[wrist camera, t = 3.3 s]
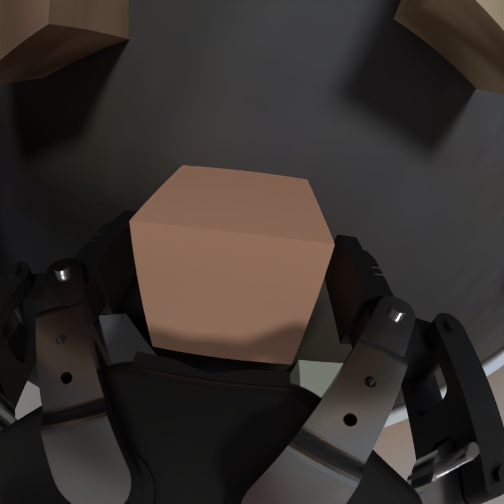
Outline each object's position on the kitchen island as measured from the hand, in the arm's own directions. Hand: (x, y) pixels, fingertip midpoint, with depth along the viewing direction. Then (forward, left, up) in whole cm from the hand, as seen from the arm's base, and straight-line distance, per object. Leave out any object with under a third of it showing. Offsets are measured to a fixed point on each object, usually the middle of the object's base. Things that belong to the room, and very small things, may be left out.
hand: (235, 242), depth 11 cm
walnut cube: (-8, +10, -1) cm, 13 cm away
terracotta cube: (0, 0, -1) cm, 1 cm away
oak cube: (+8, +12, -1) cm, 14 cm away
